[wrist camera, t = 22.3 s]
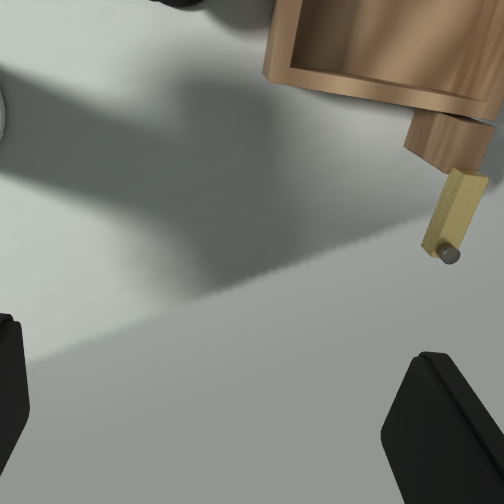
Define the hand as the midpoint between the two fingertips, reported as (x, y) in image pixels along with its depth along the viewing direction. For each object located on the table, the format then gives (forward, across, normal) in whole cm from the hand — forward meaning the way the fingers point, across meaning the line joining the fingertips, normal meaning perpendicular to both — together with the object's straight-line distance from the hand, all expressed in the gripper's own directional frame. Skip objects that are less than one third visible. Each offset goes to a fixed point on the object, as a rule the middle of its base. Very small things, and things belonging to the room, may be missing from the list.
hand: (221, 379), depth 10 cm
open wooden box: (+32, -12, -9) cm, 36 cm away
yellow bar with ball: (+24, -19, +3) cm, 30 cm away
